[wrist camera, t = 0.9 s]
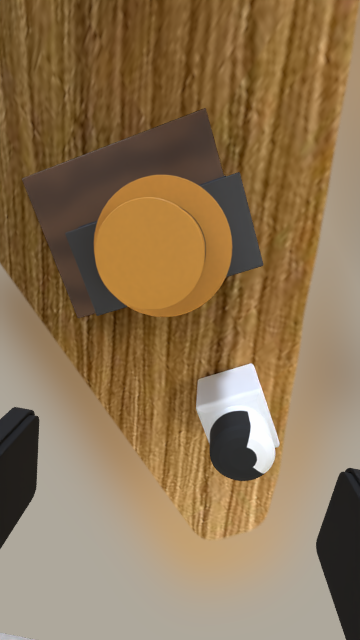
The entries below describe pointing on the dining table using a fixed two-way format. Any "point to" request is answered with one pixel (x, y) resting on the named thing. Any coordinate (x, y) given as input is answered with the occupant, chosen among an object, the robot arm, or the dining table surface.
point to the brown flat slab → (115, 184)
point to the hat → (162, 245)
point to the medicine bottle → (237, 423)
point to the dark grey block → (241, 228)
